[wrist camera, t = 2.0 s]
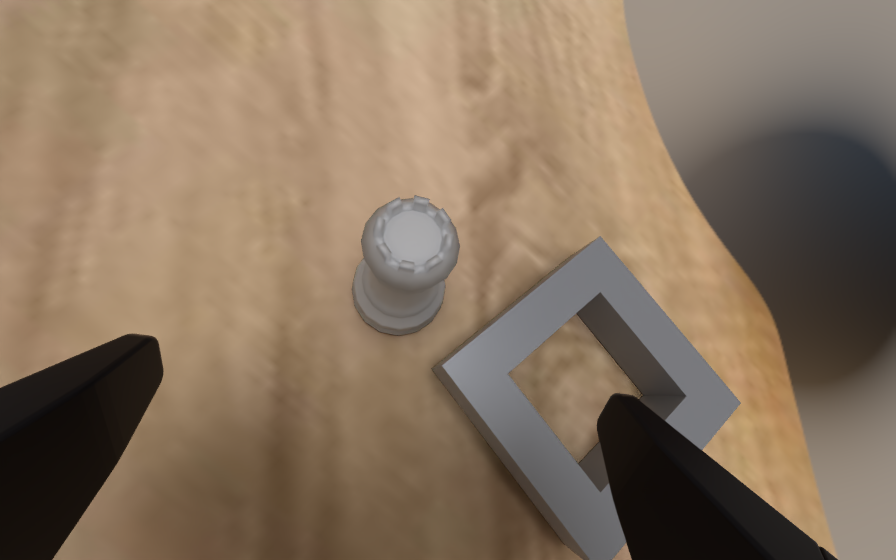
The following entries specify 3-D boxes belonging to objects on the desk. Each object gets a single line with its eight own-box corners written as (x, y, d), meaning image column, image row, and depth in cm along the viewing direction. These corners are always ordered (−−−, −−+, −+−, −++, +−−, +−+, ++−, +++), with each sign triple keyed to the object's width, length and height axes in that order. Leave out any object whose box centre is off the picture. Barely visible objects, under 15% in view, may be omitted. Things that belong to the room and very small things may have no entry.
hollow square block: (564, 544, 18) (600, 573, 15) (431, 368, 19) (441, 365, 16) (691, 401, 21) (741, 402, 18) (570, 255, 22) (600, 236, 19)
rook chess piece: (336, 315, 19) (312, 266, 11) (375, 236, 20) (377, 145, 13) (422, 351, 19) (455, 327, 12) (454, 270, 21) (503, 203, 13)
